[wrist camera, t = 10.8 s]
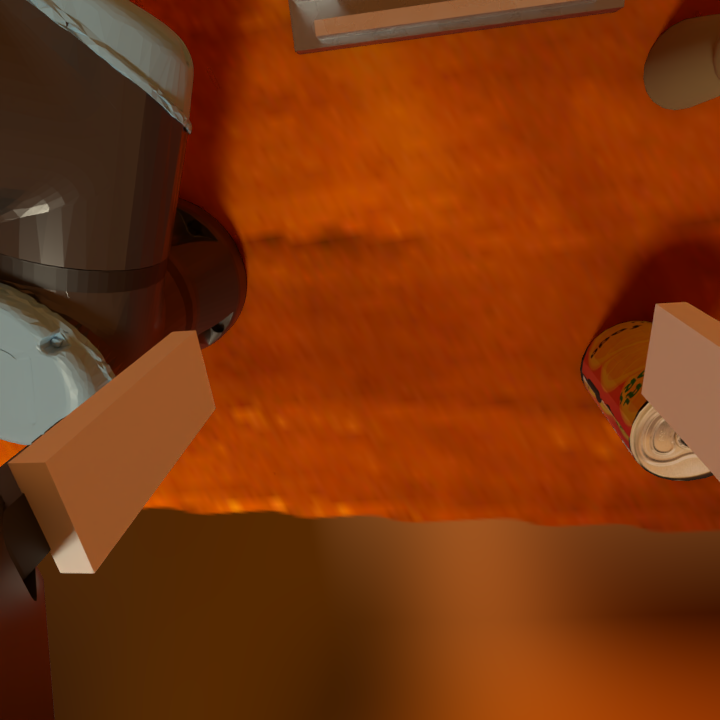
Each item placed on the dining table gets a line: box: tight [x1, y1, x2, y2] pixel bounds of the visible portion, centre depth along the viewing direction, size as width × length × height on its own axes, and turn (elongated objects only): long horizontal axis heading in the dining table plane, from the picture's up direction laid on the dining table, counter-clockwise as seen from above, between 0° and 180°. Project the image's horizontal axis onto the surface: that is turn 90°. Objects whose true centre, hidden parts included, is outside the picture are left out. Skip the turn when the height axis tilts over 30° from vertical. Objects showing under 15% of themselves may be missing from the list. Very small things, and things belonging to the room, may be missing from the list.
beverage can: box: [580, 321, 713, 481], centre depth 41 cm, size 9×9×12 cm
